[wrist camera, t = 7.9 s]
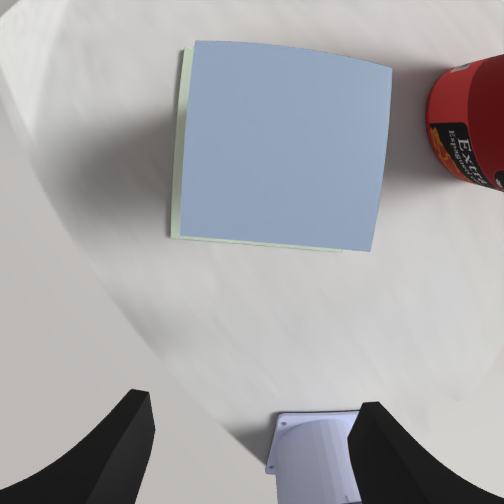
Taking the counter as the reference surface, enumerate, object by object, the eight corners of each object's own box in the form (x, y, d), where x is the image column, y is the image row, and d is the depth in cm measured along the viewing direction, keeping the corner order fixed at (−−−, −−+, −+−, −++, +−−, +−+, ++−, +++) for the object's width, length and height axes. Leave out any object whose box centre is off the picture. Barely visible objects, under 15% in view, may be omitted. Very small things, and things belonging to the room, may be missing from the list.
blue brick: (329, 214, 13) (369, 252, 8) (205, 202, 12) (180, 235, 8) (342, 93, 11) (392, 68, 7) (215, 78, 11) (195, 40, 6)
